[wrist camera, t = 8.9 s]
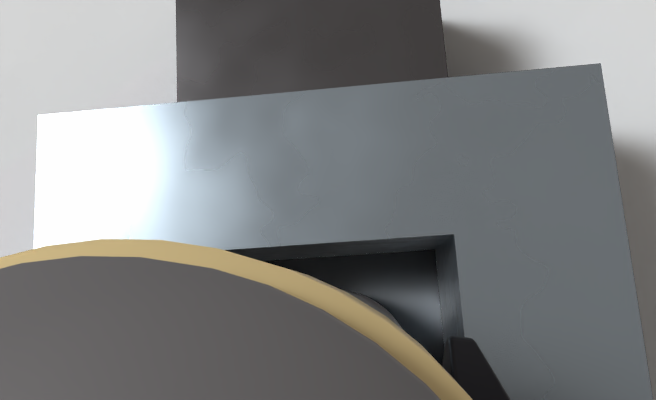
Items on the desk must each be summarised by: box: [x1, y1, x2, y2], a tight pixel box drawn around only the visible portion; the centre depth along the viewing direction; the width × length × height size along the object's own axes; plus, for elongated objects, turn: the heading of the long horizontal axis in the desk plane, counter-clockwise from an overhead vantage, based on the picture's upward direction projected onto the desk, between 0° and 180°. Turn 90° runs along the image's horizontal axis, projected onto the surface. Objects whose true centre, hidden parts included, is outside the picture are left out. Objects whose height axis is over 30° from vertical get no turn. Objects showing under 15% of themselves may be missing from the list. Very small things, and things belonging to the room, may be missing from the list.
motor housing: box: [34, 0, 653, 400], centre depth 15 cm, size 18×14×4 cm
